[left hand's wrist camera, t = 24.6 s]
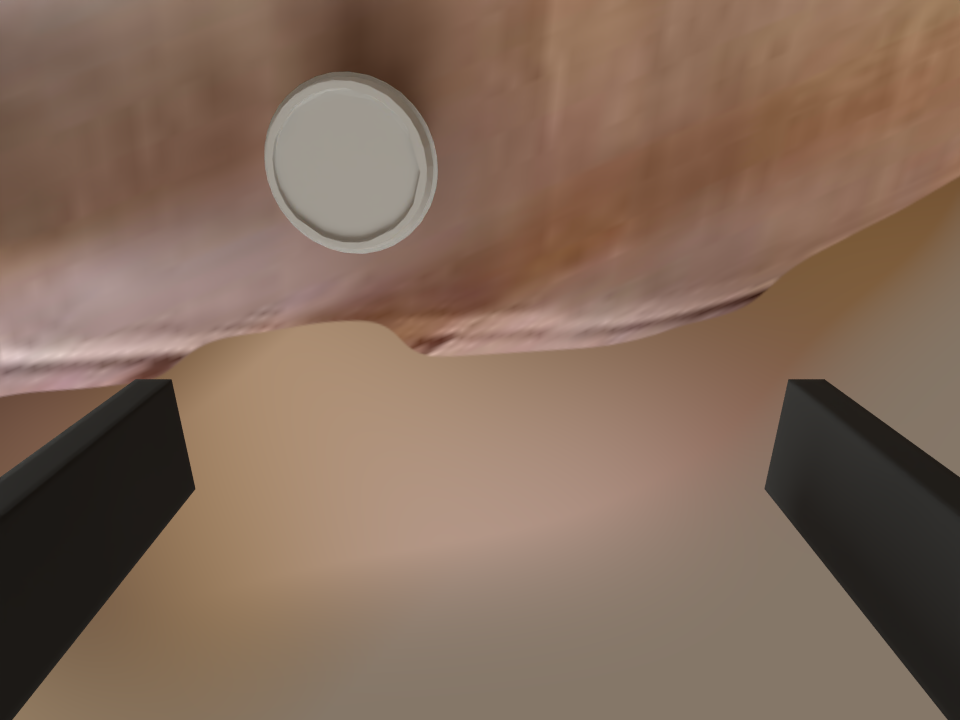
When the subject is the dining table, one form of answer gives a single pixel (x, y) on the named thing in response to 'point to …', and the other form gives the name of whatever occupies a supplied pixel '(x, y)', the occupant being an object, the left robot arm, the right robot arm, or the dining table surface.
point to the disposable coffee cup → (351, 162)
